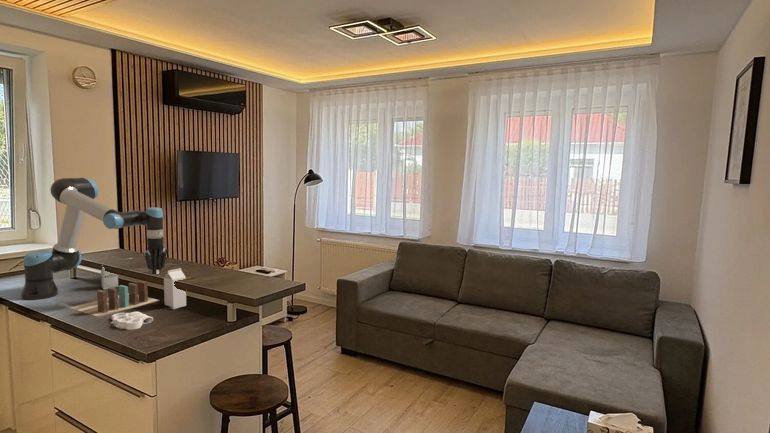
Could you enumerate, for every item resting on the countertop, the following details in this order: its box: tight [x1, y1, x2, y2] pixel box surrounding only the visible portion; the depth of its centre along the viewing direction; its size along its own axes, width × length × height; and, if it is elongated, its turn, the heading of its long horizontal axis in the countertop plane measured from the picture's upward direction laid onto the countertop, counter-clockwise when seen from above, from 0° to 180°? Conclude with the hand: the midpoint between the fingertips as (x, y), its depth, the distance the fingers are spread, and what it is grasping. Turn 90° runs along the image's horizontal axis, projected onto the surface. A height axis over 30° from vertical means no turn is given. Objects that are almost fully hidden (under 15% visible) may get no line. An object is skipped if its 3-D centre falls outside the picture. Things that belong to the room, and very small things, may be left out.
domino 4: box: [127, 282, 139, 305], centre depth 219 cm, size 2×5×10 cm, turn 62°
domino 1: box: [96, 289, 108, 313], centre depth 206 cm, size 2×5×10 cm, turn 62°
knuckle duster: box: [109, 311, 154, 331], centre depth 195 cm, size 3×18×15 cm
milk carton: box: [163, 267, 187, 310], centre depth 219 cm, size 7×7×19 cm
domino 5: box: [137, 280, 149, 302], centre depth 223 cm, size 2×5×10 cm, turn 62°
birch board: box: [67, 292, 160, 318], centre depth 218 cm, size 26×30×1 cm
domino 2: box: [107, 287, 119, 310], centre depth 210 cm, size 2×5×10 cm, turn 62°
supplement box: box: [100, 267, 119, 291], centre depth 250 cm, size 7×7×13 cm
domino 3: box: [117, 284, 129, 307], centre depth 214 cm, size 2×5×10 cm, turn 62°
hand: (156, 281), depth 230 cm, fingers closed
